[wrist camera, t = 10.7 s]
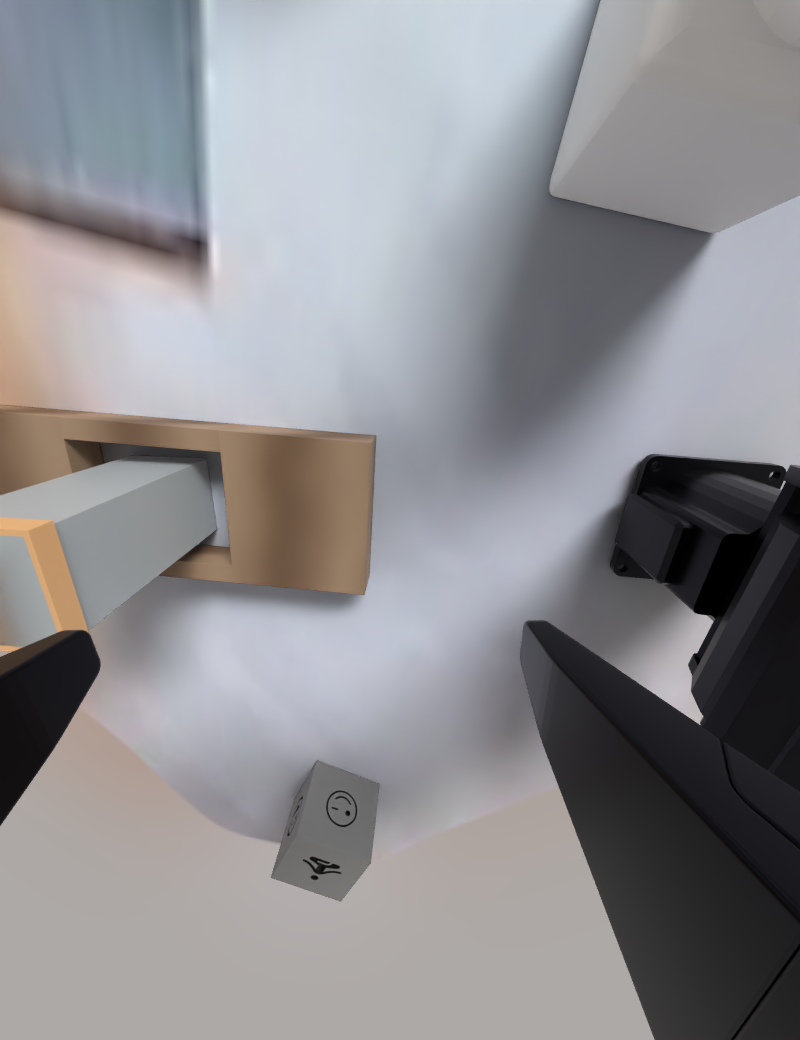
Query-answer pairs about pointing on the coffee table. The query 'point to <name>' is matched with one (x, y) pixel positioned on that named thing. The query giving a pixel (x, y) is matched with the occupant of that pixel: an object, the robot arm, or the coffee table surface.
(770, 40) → the medicine bottle
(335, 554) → the wooden socket base
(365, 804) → the grey marked cube
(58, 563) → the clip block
